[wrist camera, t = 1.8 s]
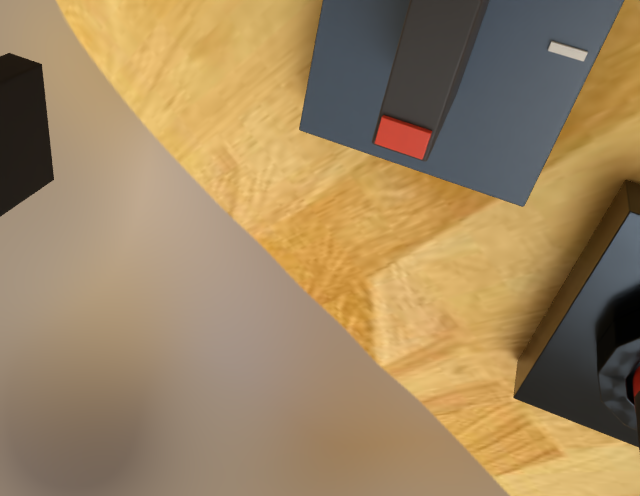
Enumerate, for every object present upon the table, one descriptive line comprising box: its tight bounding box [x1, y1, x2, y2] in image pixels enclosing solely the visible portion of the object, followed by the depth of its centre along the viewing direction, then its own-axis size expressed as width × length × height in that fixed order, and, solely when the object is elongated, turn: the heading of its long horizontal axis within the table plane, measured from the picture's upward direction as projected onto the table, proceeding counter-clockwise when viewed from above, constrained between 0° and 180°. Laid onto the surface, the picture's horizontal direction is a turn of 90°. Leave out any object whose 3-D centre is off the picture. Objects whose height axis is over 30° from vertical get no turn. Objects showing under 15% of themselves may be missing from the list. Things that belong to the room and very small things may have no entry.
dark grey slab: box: [372, 0, 490, 162], centre depth 21 cm, size 6×2×7 cm, turn 169°
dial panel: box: [299, 0, 624, 207], centre depth 25 cm, size 14×11×3 cm
